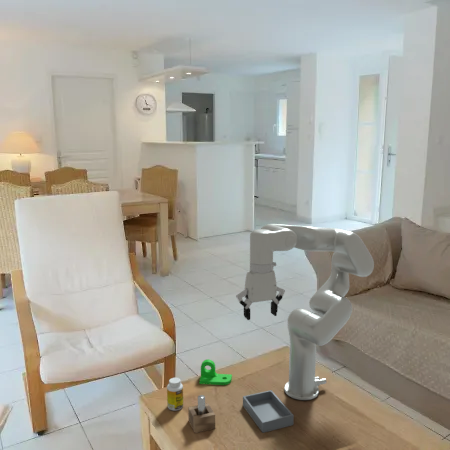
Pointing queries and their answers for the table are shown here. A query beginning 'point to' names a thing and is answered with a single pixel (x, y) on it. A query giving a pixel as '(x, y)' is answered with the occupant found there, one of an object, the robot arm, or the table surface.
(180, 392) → the supplement bottle
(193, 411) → the bore block
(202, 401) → the pin gauge
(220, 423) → the table surface
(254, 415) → the tray
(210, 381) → the mechanical part
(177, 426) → the table surface
